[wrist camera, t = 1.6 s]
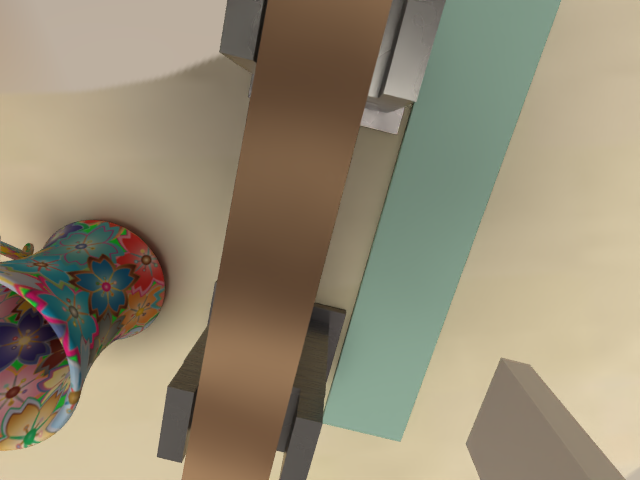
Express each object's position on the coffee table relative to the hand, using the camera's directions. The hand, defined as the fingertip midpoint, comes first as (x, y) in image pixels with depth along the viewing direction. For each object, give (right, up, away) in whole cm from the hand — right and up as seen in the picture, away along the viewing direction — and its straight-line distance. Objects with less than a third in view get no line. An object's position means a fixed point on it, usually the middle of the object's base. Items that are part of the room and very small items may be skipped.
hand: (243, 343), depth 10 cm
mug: (-13, +1, +17) cm, 22 cm away
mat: (+9, +3, +15) cm, 18 cm away
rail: (0, +2, +7) cm, 8 cm away
